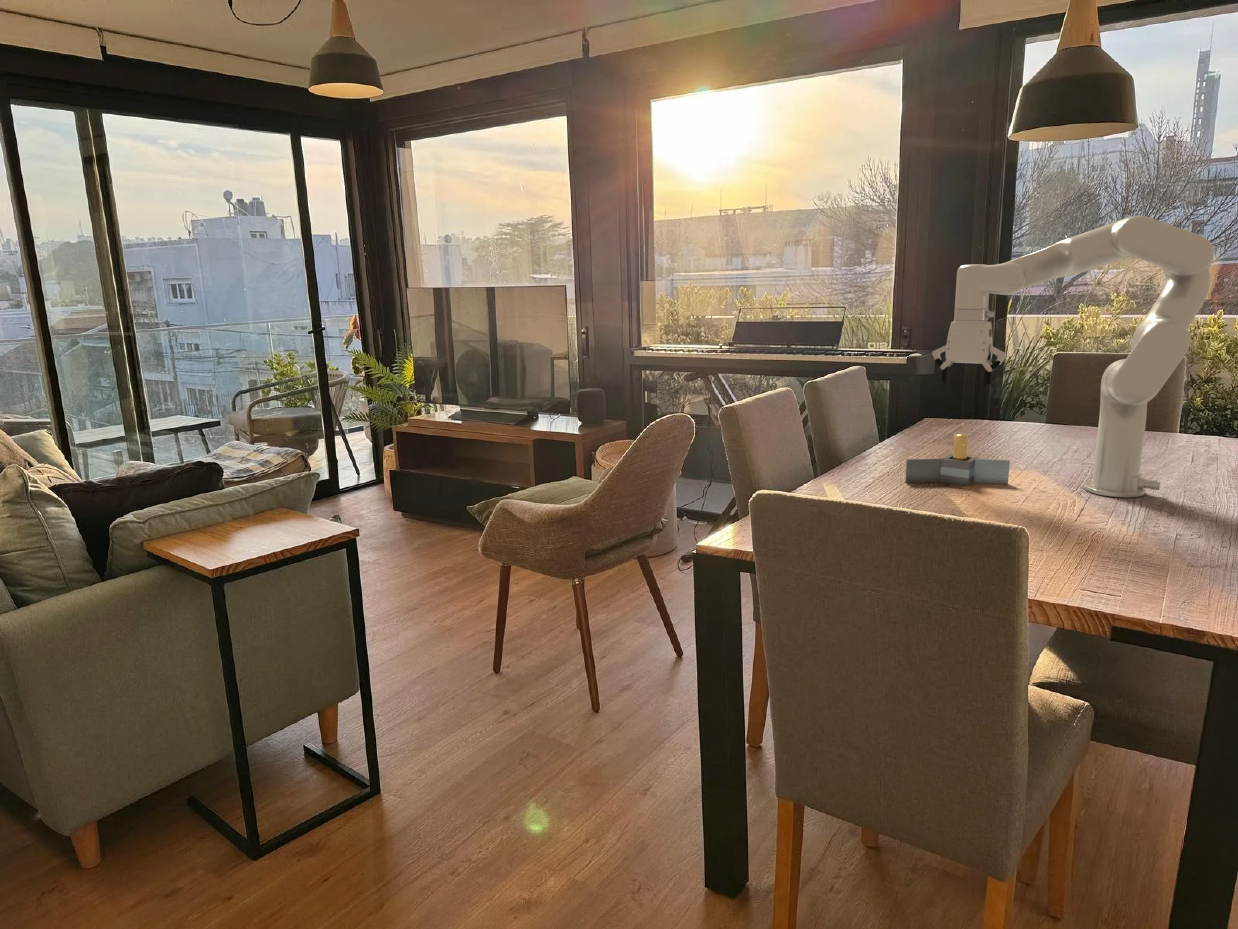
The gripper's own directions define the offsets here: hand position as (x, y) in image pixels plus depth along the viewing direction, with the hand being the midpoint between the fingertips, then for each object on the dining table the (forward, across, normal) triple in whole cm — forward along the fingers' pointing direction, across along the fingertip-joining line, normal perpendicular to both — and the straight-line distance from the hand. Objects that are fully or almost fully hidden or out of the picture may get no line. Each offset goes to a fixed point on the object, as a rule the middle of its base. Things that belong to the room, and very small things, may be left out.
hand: (966, 386), depth 208 cm
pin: (+24, 0, 0) cm, 24 cm away
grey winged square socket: (+24, 0, +3) cm, 24 cm away
